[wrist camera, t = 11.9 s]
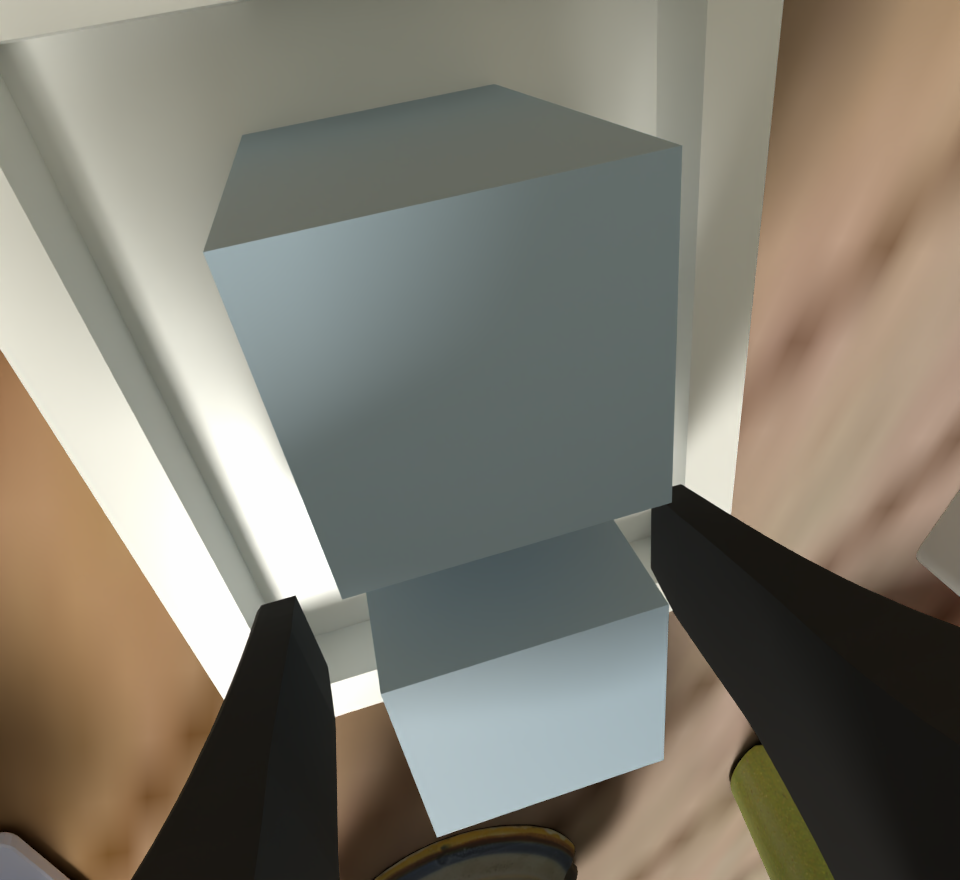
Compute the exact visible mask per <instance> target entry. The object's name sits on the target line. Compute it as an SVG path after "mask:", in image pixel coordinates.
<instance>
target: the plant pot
mask: <svg viewBox="0 0 960 880" xmlns="http://www.w3.org/2000/svg"><path fill="white" fill-rule="evenodd" d="M730 785H731V790H732V793H733V795H734V797H735V800H736V802H737V804H738V806H739V809H740V811H741V813H742V816H743V818H744V820H745V822H746V825H747V827H748V829H749V831H750V834H751V836H752V838H753V840H754V843H755V845H756V847H757V850H758V852H759V854H760V857H761V859H762V861H763V864H764V866H765V868H766V870H767V873H768V875H769V877H770V880H834V878H833V876H832V874H831V872H830V870H829V868H828V866H827V864H826V862H825V860H824V858H823V856H822V854H821V852H820V850H819V848H818V846H817V844H816V842H815V840H814V838H813V836H812V835H811V833H810V831H809V829H808V827H807V825H806V823H805V822H804V820H803V818H802V816H801V814H800V812H799V810H798V808H797V807H796V805H795V803H794V801H793V799H792V797H791V795H790V794H789V792H788V790H787V788H786V786H785V784H784V782H783V781H782V779H781V777H780V775H779V774H778V772H777V770H776V768H775V766H774V765H773V763H772V761H771V759H770V758H769V756H768V754H767V752H766V750H765V749H764V747H763V745H756V746H754V747H753V748H752V749H750V750H749V751H748V752H747V753H746V754H745V755H744V756H743V757H742V759H741V760H740V762H739V763H738V765H737V766H736V768H735V770H734V772H733V775H732V778H731V784H730Z"/></svg>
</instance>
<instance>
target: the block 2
mask: <svg viewBox="0 0 960 880" xmlns="http://www.w3.org/2000/svg"><path fill="white" fill-rule="evenodd" d="M366 596H367V603H368V610H369V617H370V623H371V630H372V637H373V644H374V651H375V658H376V665H377V672H378V679H379V686H380V693H381V696H382V699H383V701H384V704H385V706H386V709H387V712H388V714H389V717H390V719H391V722H392V724H393V727H394V729H395V732H396V734H397V737H398V739H399V742H400V745H401V747H402V750H403V752H404V755H405V757H406V760H407V762H408V765H409V767H410V770H411V772H412V775H413V778H414V780H415V783H416V785H417V788H418V790H419V793H420V795H421V798H422V800H423V803H424V805H425V808H426V811H427V813H428V816H429V818H430V821H431V823H432V826H433V828H434V831H435V833H436V836H437V837H440V836H443V835H446V834H449V833H452V832H455V831H458V830H461V829H464V828H466V827H469V826H472V825H475V824H478V823H481V822H484V821H487V820H490V819H493V818H496V817H498V816H501V815H504V814H507V813H510V812H513V811H516V810H519V809H522V808H525V807H528V806H531V805H533V804H536V803H539V802H542V801H545V800H548V799H551V798H554V797H557V796H560V795H563V794H566V793H568V792H571V791H574V790H577V789H580V788H583V787H586V786H589V785H592V784H595V783H598V782H600V781H603V780H606V779H609V778H612V777H615V776H618V775H621V774H624V773H627V772H630V771H633V770H635V769H638V768H641V767H644V766H647V765H650V764H653V763H656V762H659V761H662V760H664V734H665V705H666V677H667V648H668V620H669V604H668V602H667V601H666V599H665V598H664V596H663V595H662V593H661V591H660V590H659V588H658V587H657V585H656V584H655V582H654V581H653V579H652V578H651V576H650V575H649V573H648V572H647V570H646V569H645V567H644V566H643V564H642V562H641V561H640V559H639V558H638V556H637V555H636V553H635V552H634V550H633V549H632V547H631V546H630V544H629V543H628V541H627V540H626V538H625V536H624V535H623V533H622V532H621V530H620V529H619V527H618V526H617V524H616V523H615V521H614V520H611V521H608V522H604V523H601V524H597V525H594V526H591V527H587V528H584V529H580V530H577V531H574V532H570V533H567V534H563V535H560V536H557V537H553V538H550V539H546V540H543V541H540V542H536V543H533V544H529V545H526V546H523V547H519V548H516V549H512V550H509V551H505V552H502V553H499V554H495V555H492V556H488V557H485V558H482V559H478V560H475V561H471V562H468V563H465V564H461V565H458V566H454V567H451V568H448V569H444V570H441V571H437V572H434V573H431V574H427V575H424V576H420V577H417V578H414V579H410V580H407V581H403V582H400V583H397V584H393V585H390V586H386V587H383V588H380V589H376V590H373V591H369V592H366Z"/></svg>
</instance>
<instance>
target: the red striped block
mask: <svg viewBox="0 0 960 880" xmlns="http://www.w3.org/2000/svg"><path fill="white" fill-rule="evenodd" d="M917 560H918V561H919V562H920V563H921V564H922V565H923V566H925V567H926V568H927V569H928V570H929V571H930V572H932V573H933V574H934V575H935V576H936V577H937V578H939V579H940V580H941V581H942V582H943V583H944V584H946V585H947V586H948V587H949V588H950V589H951V590H952V591H954V592H955V593H956V594H957V595H958V596H959V597H960V490H959V492H958V493H957V494H956V496H955V497H954V499H953V500H952V502H951V503H950V504H949V506H948V507H947V509H946V510H945V512H944V513H943V514H942V516H941V517H940V519H939V520H938V522H937V523H936V524H935V526H934V527H933V529H932V530H931V532H930V533H929V534H928V536H927V537H926V539H925V540H924V542H923V543H922V544H921V546H920V548H919V550H918V552H917Z"/></svg>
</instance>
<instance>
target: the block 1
mask: <svg viewBox="0 0 960 880" xmlns="http://www.w3.org/2000/svg"><path fill="white" fill-rule="evenodd" d="M681 174H682V145H679V144H676V143H673V142H670V141H667V140H664V139H661V138H658V137H655V136H652V135H649V134H645V133H642V132H639V131H636V130H633V129H630V128H627V127H624V126H621V125H618V124H615V123H612V122H609V121H606V120H603V119H600V118H597V117H594V116H591V115H587V114H584V113H581V112H578V111H575V110H572V109H569V108H566V107H563V106H560V105H557V104H554V103H551V102H548V101H545V100H542V99H539V98H536V97H533V96H529V95H526V94H523V93H520V92H517V91H514V90H511V89H508V88H505V87H502V86H499V85H496V84H492V85H487V86H482V87H477V88H472V89H467V90H462V91H457V92H452V93H447V94H442V95H438V96H433V97H428V98H423V99H418V100H413V101H408V102H403V103H398V104H393V105H388V106H383V107H378V108H373V109H368V110H363V111H359V112H354V113H349V114H344V115H339V116H334V117H329V118H324V119H319V120H314V121H309V122H304V123H299V124H294V125H289V126H284V127H280V128H275V129H270V130H265V131H260V132H255V133H250V134H245V135H242V137H241V140H240V143H239V146H238V149H237V152H236V155H235V158H234V161H233V164H232V167H231V170H230V173H229V176H228V179H227V182H226V185H225V188H224V191H223V194H222V197H221V200H220V203H219V206H218V209H217V212H216V215H215V218H214V221H213V224H212V227H211V230H210V233H209V236H208V239H207V242H206V245H205V248H204V251H203V254H204V256H205V259H206V261H207V264H208V266H209V269H210V271H211V274H212V276H213V279H214V281H215V284H216V286H217V289H218V291H219V294H220V296H221V299H222V301H223V304H224V306H225V309H226V311H227V314H228V316H229V319H230V321H231V324H232V326H233V328H234V331H235V333H236V336H237V338H238V341H239V343H240V346H241V348H242V351H243V353H244V356H245V358H246V361H247V363H248V366H249V368H250V371H251V373H252V376H253V378H254V381H255V383H256V386H257V388H258V391H259V393H260V396H261V398H262V401H263V403H264V406H265V408H266V411H267V413H268V416H269V418H270V421H271V423H272V426H273V428H274V431H275V433H276V436H277V438H278V441H279V443H280V446H281V448H282V451H283V453H284V456H285V458H286V460H287V463H288V465H289V468H290V470H291V473H292V475H293V478H294V480H295V483H296V485H297V488H298V490H299V493H300V495H301V498H302V500H303V503H304V505H305V508H306V510H307V513H308V515H309V518H310V520H311V523H312V525H313V528H314V530H315V533H316V535H317V538H318V540H319V543H320V545H321V548H322V550H323V553H324V555H325V558H326V560H327V563H328V565H329V568H330V570H331V573H332V575H333V578H334V580H335V583H336V585H337V588H338V590H339V592H340V595H341V597H342V599H346V598H349V597H352V596H356V595H359V594H363V593H366V592H369V591H373V590H376V589H380V588H383V587H386V586H390V585H393V584H397V583H400V582H403V581H407V580H410V579H414V578H417V577H420V576H424V575H427V574H431V573H434V572H437V571H441V570H444V569H448V568H451V567H454V566H458V565H461V564H465V563H468V562H471V561H475V560H478V559H482V558H485V557H488V556H492V555H495V554H499V553H502V552H505V551H509V550H512V549H516V548H519V547H523V546H526V545H529V544H533V543H536V542H540V541H543V540H546V539H550V538H553V537H557V536H560V535H563V534H567V533H570V532H574V531H577V530H580V529H584V528H587V527H591V526H594V525H597V524H601V523H604V522H608V521H611V520H614V519H618V518H621V517H625V516H628V515H631V514H635V513H638V512H642V511H645V510H648V509H652V508H655V507H659V506H662V505H665V504H669V503H672V478H673V445H674V411H675V377H676V343H677V309H678V275H679V242H680V208H681Z"/></svg>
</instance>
